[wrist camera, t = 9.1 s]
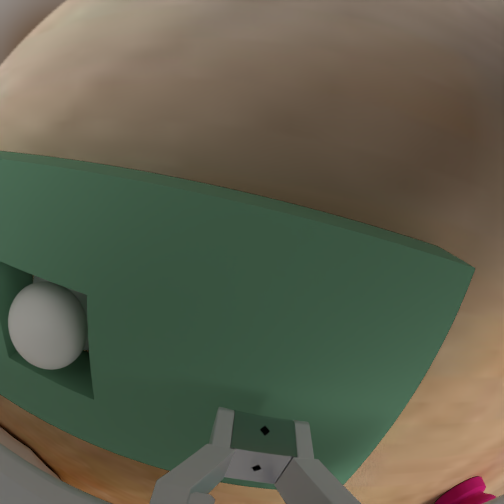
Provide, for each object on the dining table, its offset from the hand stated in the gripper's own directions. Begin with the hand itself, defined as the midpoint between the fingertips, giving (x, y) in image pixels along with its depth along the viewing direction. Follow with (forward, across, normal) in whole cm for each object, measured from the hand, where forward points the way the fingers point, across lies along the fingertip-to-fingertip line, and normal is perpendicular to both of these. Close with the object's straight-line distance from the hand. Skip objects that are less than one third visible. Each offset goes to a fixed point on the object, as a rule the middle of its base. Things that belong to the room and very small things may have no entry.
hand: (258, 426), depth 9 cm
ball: (+2, +10, +1) cm, 10 cm away
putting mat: (+5, +6, 0) cm, 7 cm away
